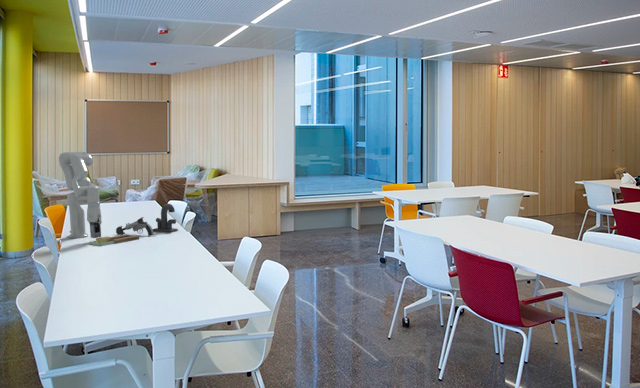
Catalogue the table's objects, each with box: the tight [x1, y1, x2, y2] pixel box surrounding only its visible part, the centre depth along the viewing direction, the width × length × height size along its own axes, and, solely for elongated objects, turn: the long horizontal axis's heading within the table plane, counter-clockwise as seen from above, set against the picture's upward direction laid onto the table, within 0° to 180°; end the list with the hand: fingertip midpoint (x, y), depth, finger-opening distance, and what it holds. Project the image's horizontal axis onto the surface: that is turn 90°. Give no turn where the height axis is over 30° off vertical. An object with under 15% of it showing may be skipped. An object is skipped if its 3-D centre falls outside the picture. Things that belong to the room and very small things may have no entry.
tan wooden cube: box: [95, 236, 105, 243], centre depth 363 cm, size 4×4×4 cm
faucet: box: [152, 203, 179, 234], centre depth 414 cm, size 18×16×20 cm
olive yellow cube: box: [101, 235, 111, 242], centre depth 366 cm, size 4×4×4 cm
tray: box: [89, 240, 116, 247], centre depth 364 cm, size 11×11×2 cm
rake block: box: [89, 221, 102, 239], centre depth 372 cm, size 4×5×11 cm
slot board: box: [109, 233, 140, 244], centre depth 376 cm, size 14×18×2 cm
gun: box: [115, 216, 154, 237], centre depth 397 cm, size 5×27×15 cm, turn 76°
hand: (95, 231), depth 372 cm, fingers closed on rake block, 4 cm apart
